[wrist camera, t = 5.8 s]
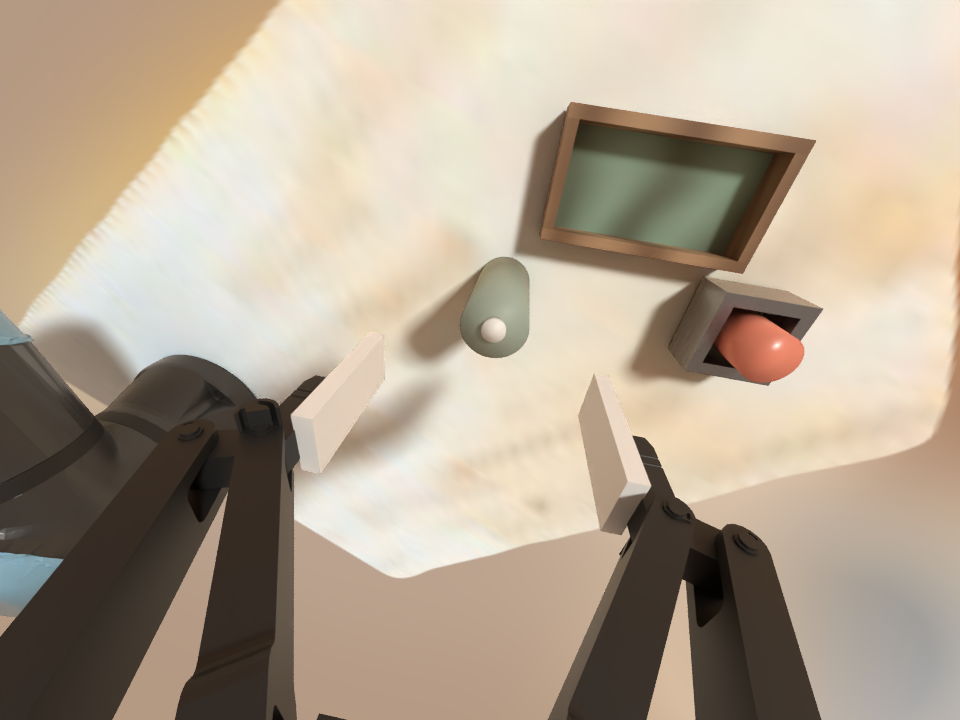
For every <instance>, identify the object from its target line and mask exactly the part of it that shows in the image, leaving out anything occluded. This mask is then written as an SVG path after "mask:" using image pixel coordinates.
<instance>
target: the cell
mask: <svg viewBox="0 0 960 720" xmlns="http://www.w3.org/2000/svg"><path fill="white" fill-rule="evenodd" d="M460 330H461V334H462V337H463V339H464V341H465V342H466V344H467V345H468V346H469V347H470V348H471V349H472V350H473V351H475V352H476V353H478V354H480V355H483V356H486V357H490V358H502V357H506V356H509V355H511V354H513V353H515V352H517V351H518V350H519V349H520V348H521V347H522V346H523V345H524V343H525V342H526V340H527V337H528V334H529V275H528V272H527V270H526V268H525V267H524V266H523V265H522V264H521V263H520V262H519V261H517V260H516V259H513V258H510V257H499V258H495V259H493V260H491V261H490V262H488V263H487V264H486V265H485V266H484V268H483V269H482V271H481V273H480V276H479V278H478V280H477V282H476V285H475V287H474V289H473V291H472V293H471V296H470V298H469V300H468V302H467V305H466V307H465V309H464V311H463V313H462V316H461V321H460Z"/></svg>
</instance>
